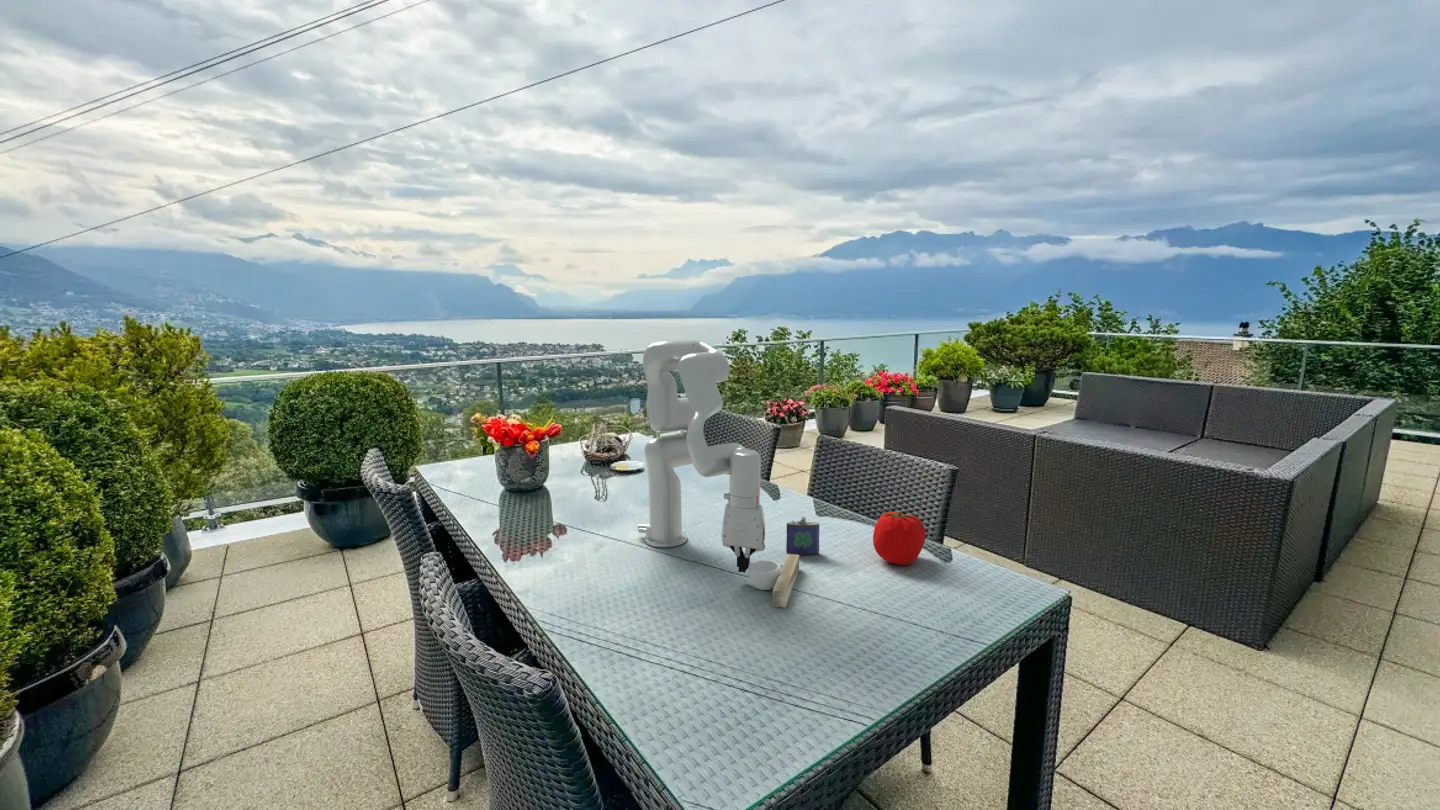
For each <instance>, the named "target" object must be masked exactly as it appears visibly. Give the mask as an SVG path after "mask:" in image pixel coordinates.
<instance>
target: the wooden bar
mask: <svg viewBox="0 0 1440 810" xmlns="http://www.w3.org/2000/svg"><path fill="white" fill-rule="evenodd" d="M782 566H783V567H782V569H781V568H780V571H781V572H780V574H779V576H778V579H777V581H776V584H775V586H774V588H773V589H772V607H773V606H774V607H773V608H778V607H782V608H781V609H787V606H788V603H789V599H790V597H791V594H792V592H791V591H793V588H794V585H795V582H796V579H797V576H798V574H799V571H800V556H799V555H795V554H787V555H786V557H785V559H784V562H783V564H782Z"/></svg>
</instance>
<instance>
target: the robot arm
mask: <svg viewBox="0 0 1440 810" xmlns="http://www.w3.org/2000/svg"><path fill="white" fill-rule="evenodd" d="M727 359H728V358H727V357H726V355H724V353H723V352H721V351H719V350H717V349H716V348H714V347H712V346H710V345H708V344H706V343H704V342H702V341H701V340H700V341H699V340H693V339H692V340H662V341H656V342H653V343H651V344H649V345H648V346H647V347H646V348H645V350H644V352H643V356H642V366H643V372H644V375H645V379H646V383H647V402H648V403H647V405H648V408H647V409H648V422H649V426H650V428H651V429H652V431H653V432H656V433H668V432H669V433H670V432H675V431H676V432H678V431H680V432H679V434H678V433H677V434H670V435H663V436H657V437H654V438H652V439H650V440H649V441H648V442H647V443H645V446H644V451H643V455H644V459H645V463H646V468H647V469H646V470H647V476H648V477H647V479H648V503H649V504H648V506H649V508H648V509H649V524H645V523H639V524H637V531H638V533H640V534H641V533H645V534H646V535H645V536H644V542H645V544H647V545H648V546H651V547H654V548H655V547H656V548H664V549H665V548H673V547H677V546H681V545H683V544H684V543H686V542H687V540H688V535H687V533H685V532H684V531H683V529H682V528H683V526H682V525H683V524H682V521H683V520H682V484H681V479H680V477H679V476H678V474H677V473H676V472H675V470H674V469H675V468H679V467H684V466H689V465H693V467H694V469H695V470H696V472H697V473H698V474H699V475H700V476H702V477H704V478H713V477H718V476H722V475H726V474H729V487H728V488H729V492H727V493H725V492H724V493H723V499H726V500H727V501H728V503H725V507H724V511H723V512H724V513H723V520H722V531H721V541H722V542H721V543H722V546H723V547H726V548H729V549H731V551H732V552H733V553H734V555H735V557H736V567H737V568H738V573H744V574H746V572H747V571H748V566H749V564H750V563H751V562H750V561H751V556H752V555H753V554H755V552H763V551H764V550H766V549H765V548H766V545H765V539H766V525H765V515H764V509H763V505H762V504H761V502H760V501H761V470H762V468H761V467H762V466H761V464H762V460H761V459H762V458H761V454H760V453H759V452H758V451H757V450H755V449H748V448H747V447H746V446H744V445H742V444H741V443H739V442H729V443H723V444H722V443H721V444H716V445H709V446H708V444H707V441H706V438H705V435H704V427H705V426H704V425H705V422H706V420H708V419H709V418H711V417H712V416H713V415H715V414H717V413H718V412H719V411H721V409H722V408H723V407H724V401H723V398H722V396H721V394H720V390H719V388H718V387H719V386H718V385H717V383H722V382H725V381H726V380H728V378H729V375H730V371H731V369H730V364H729V360H727ZM672 372H678V375H679V378H680V381H681V384H682V386H683V389H684V392H685V396H686V397H678V385H677V382H676V379H675V377H674V376H673V374H672ZM743 548H745V549H744V551H743Z"/></svg>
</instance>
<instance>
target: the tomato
mask: <svg viewBox="0 0 1440 810" xmlns="http://www.w3.org/2000/svg"><path fill="white" fill-rule="evenodd" d="M926 537H927V536H926V529H925V526H924V524H923V522H922V520H921V519H920V518H919V517H917V516H916V515H912V514H903V513H902V512H901V511H899V512H898V511H897V512H896V511H887V512H883V513H882V514H881V515H880V517H879V518H878V520H877V521H876V523H875V524H874V529H873V534H872V544H873V548H874V550H875V552H876V554H877V555H878V556H879V557H880V558H881V559H883V560H884V561H885V562H888V563H889V564H895V565H899V566H906V565H911V564H912V563H914V562H915V561H916V560H917V559H918V557H919V555H920V553H921V552H922V549H923V548H924V544H925V541H926Z"/></svg>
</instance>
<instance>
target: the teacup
mask: <svg viewBox="0 0 1440 810" xmlns="http://www.w3.org/2000/svg"><path fill="white" fill-rule="evenodd" d="M782 567H783V564H781V563H778V562H777V561H775V560H772V559H771V560H770V559H757V560H754V561H751V562H750V564H749V566H748V569H747V571H748V578H749V582H750V584H751V586H752V587H753V588H755V589H756V588H757V589H756V590H758V589H759V590H758V591H762V590H767V591H771V590H773V588H774V586H775V584H776V581H777V579H778V576H779V574H780V572H781V569H782Z"/></svg>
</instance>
